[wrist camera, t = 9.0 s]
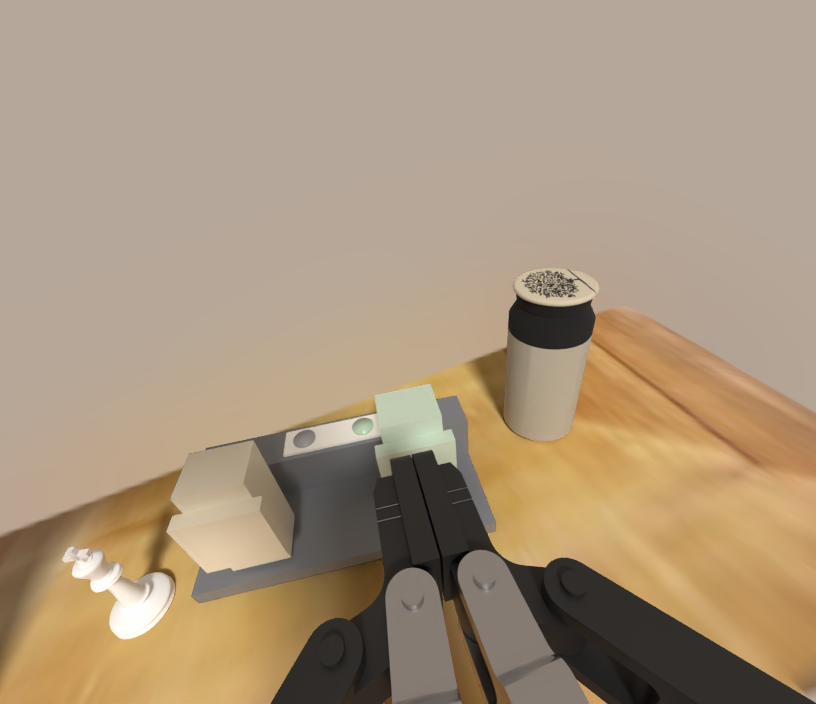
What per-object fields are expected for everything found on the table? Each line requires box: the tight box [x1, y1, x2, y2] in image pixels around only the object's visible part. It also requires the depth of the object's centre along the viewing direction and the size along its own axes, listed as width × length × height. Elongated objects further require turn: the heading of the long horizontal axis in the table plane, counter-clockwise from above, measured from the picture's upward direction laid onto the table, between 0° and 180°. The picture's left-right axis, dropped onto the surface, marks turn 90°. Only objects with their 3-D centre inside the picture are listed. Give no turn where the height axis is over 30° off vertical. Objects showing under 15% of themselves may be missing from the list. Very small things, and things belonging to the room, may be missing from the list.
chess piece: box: [62, 546, 175, 639], centre depth 28 cm, size 5×5×10 cm
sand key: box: [166, 440, 295, 573], centre depth 29 cm, size 6×5×11 cm
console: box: [191, 396, 496, 603], centre depth 35 cm, size 27×12×7 cm, turn 100°
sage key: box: [374, 384, 457, 478], centre depth 32 cm, size 6×5×11 cm
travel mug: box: [503, 268, 599, 441], centre depth 38 cm, size 8×8×18 cm
